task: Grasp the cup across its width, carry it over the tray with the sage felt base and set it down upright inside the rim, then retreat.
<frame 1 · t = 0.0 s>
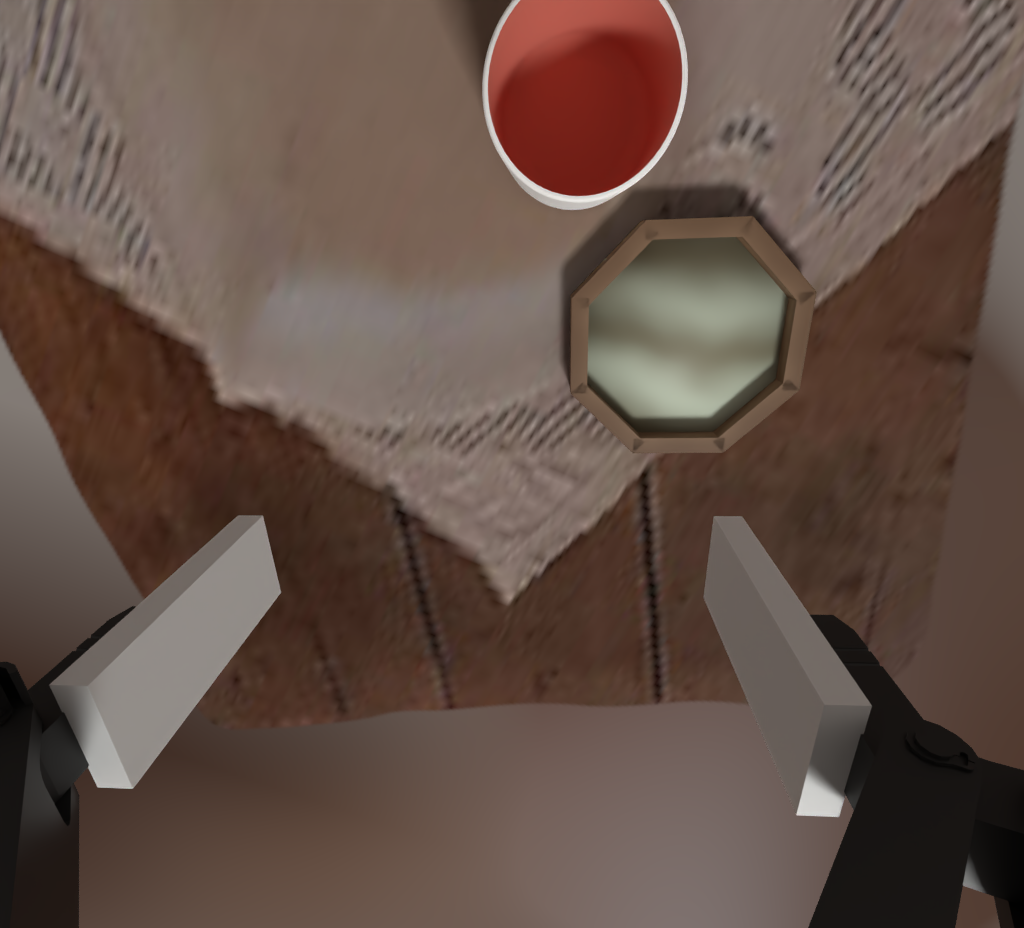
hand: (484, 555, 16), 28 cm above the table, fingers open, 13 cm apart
cup: (574, 127, 36), on the table
tray: (680, 339, 40), on the table
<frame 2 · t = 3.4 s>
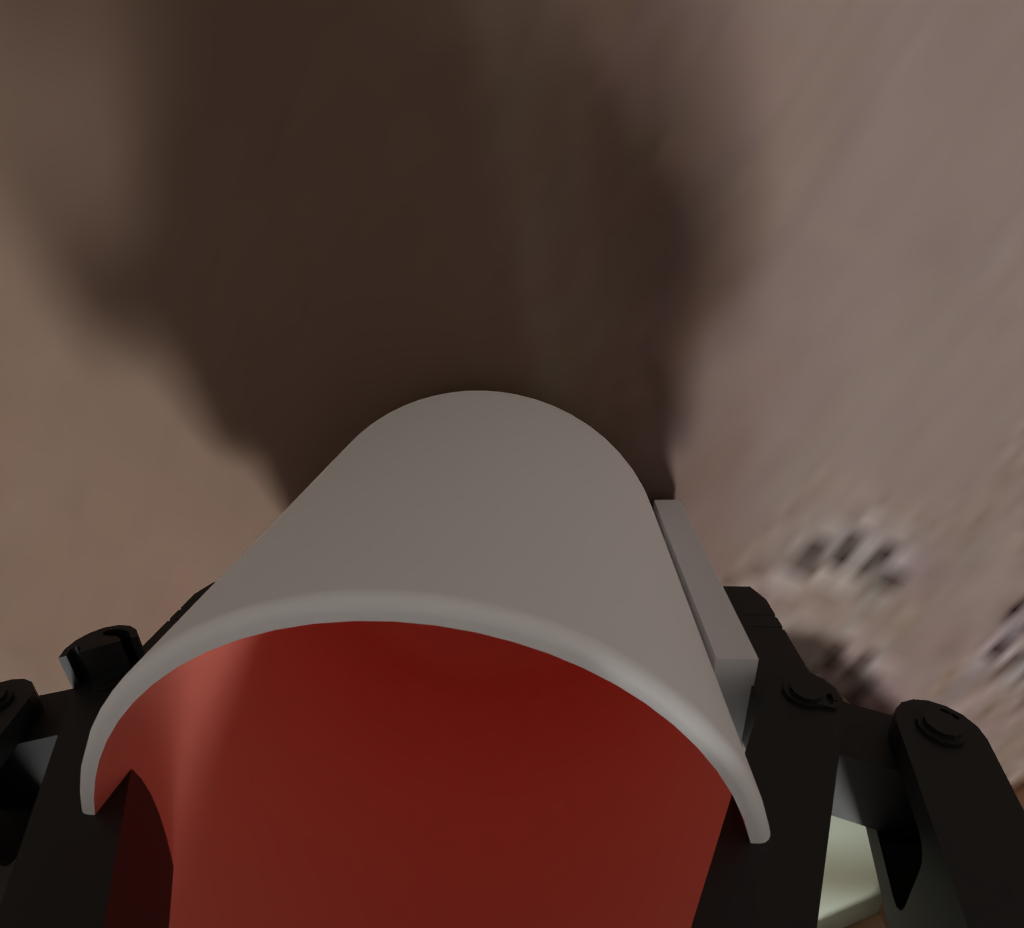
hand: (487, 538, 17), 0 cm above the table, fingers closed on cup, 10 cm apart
cup: (489, 531, 17), on the table, touching gripper
tray: (702, 837, 22), on the table
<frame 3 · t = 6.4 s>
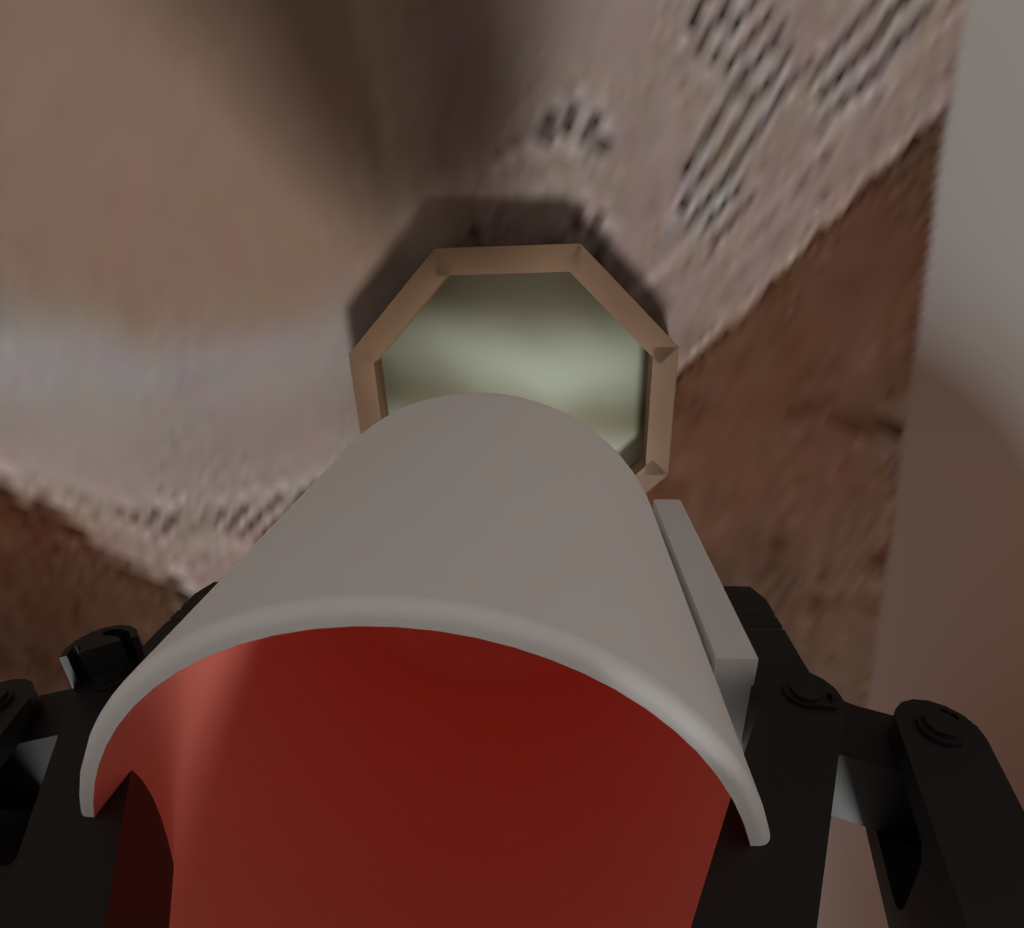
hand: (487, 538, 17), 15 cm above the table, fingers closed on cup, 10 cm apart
cup: (489, 532, 17), point 14 cm above the table, touching gripper
tray: (515, 403, 30), on the table
when the fingers open (2 cm above the table, at t = 9.4 s): cup drops 1 cm, resting on tray.
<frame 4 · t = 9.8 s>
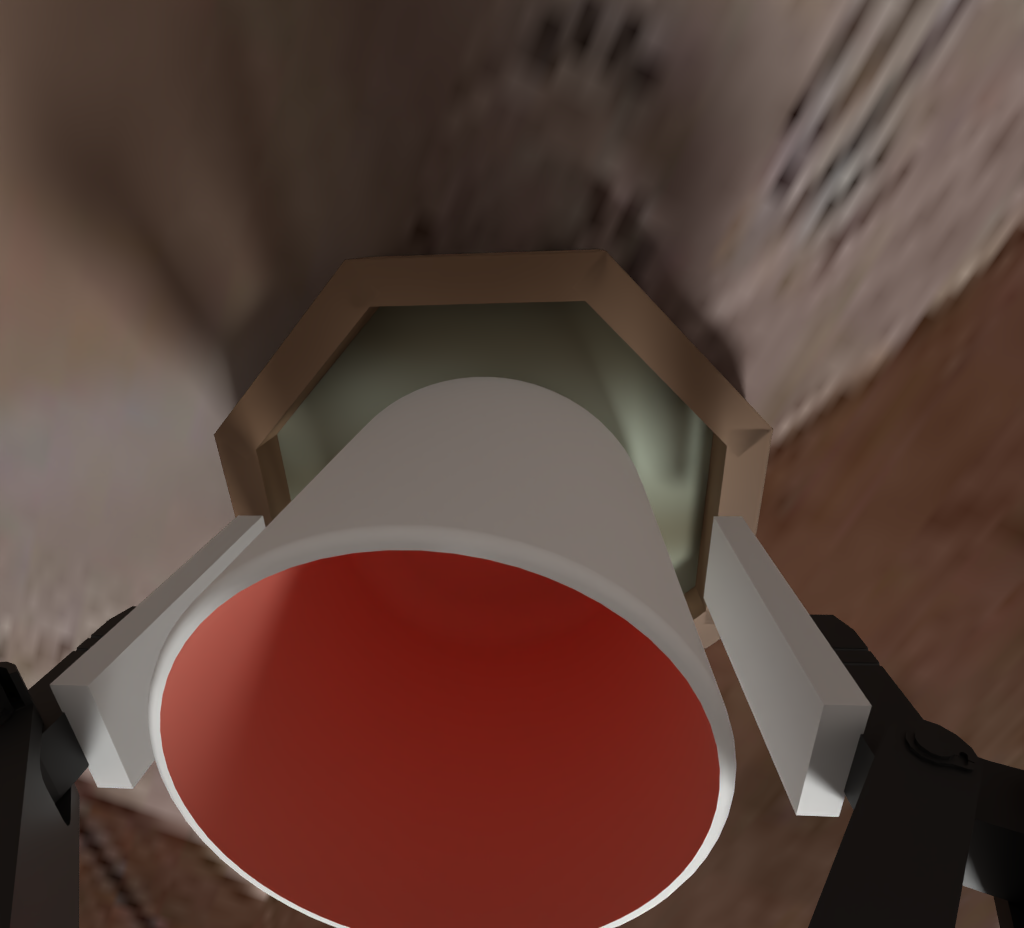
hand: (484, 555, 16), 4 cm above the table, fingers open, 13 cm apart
cup: (493, 509, 19), point 1 cm above the table, touching tray
tray: (495, 501, 19), on the table
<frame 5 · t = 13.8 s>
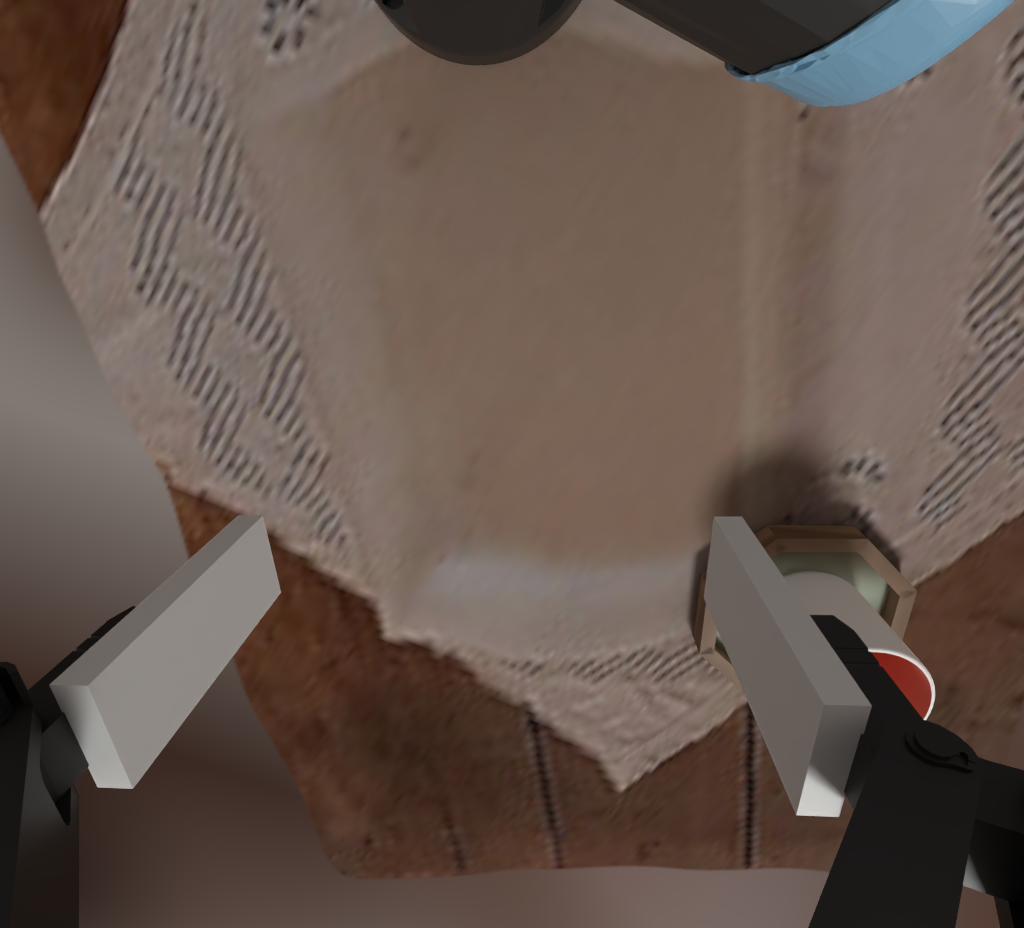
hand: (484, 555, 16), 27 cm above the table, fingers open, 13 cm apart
cup: (795, 611, 47), point 1 cm above the table, touching tray
tray: (792, 607, 47), on the table
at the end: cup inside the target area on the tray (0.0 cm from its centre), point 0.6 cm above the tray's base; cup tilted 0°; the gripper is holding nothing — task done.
